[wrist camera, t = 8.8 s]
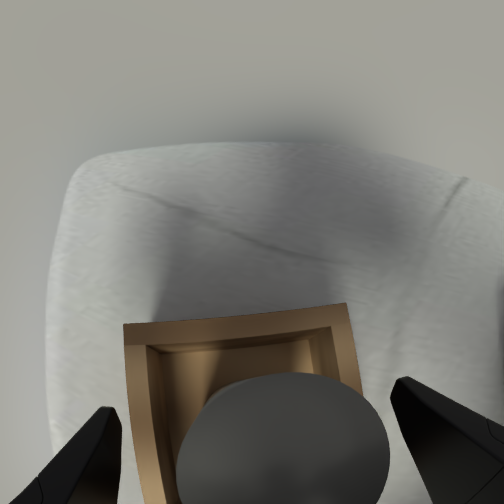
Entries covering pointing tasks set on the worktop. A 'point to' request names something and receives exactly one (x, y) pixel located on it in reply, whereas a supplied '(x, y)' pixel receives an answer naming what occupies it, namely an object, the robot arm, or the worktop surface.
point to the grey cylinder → (284, 444)
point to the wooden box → (219, 373)
